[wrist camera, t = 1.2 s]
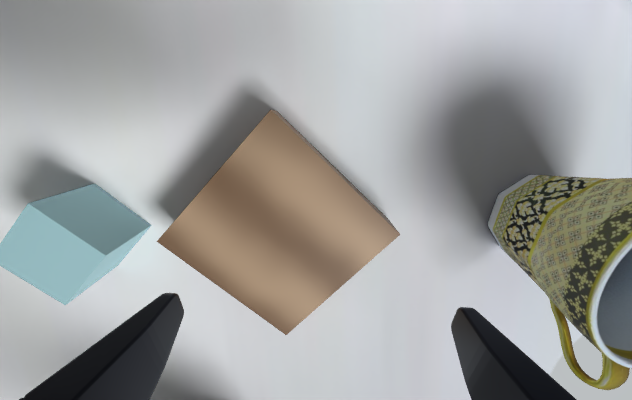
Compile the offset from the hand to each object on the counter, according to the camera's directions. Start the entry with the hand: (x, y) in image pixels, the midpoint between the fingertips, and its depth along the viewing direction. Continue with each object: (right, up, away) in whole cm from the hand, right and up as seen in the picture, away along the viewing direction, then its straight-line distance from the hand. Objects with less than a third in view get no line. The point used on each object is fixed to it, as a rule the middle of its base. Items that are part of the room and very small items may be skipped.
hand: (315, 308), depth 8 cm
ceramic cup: (+17, +1, +14) cm, 22 cm away
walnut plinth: (-3, +2, +13) cm, 13 cm away
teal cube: (-17, +1, +12) cm, 21 cm away
